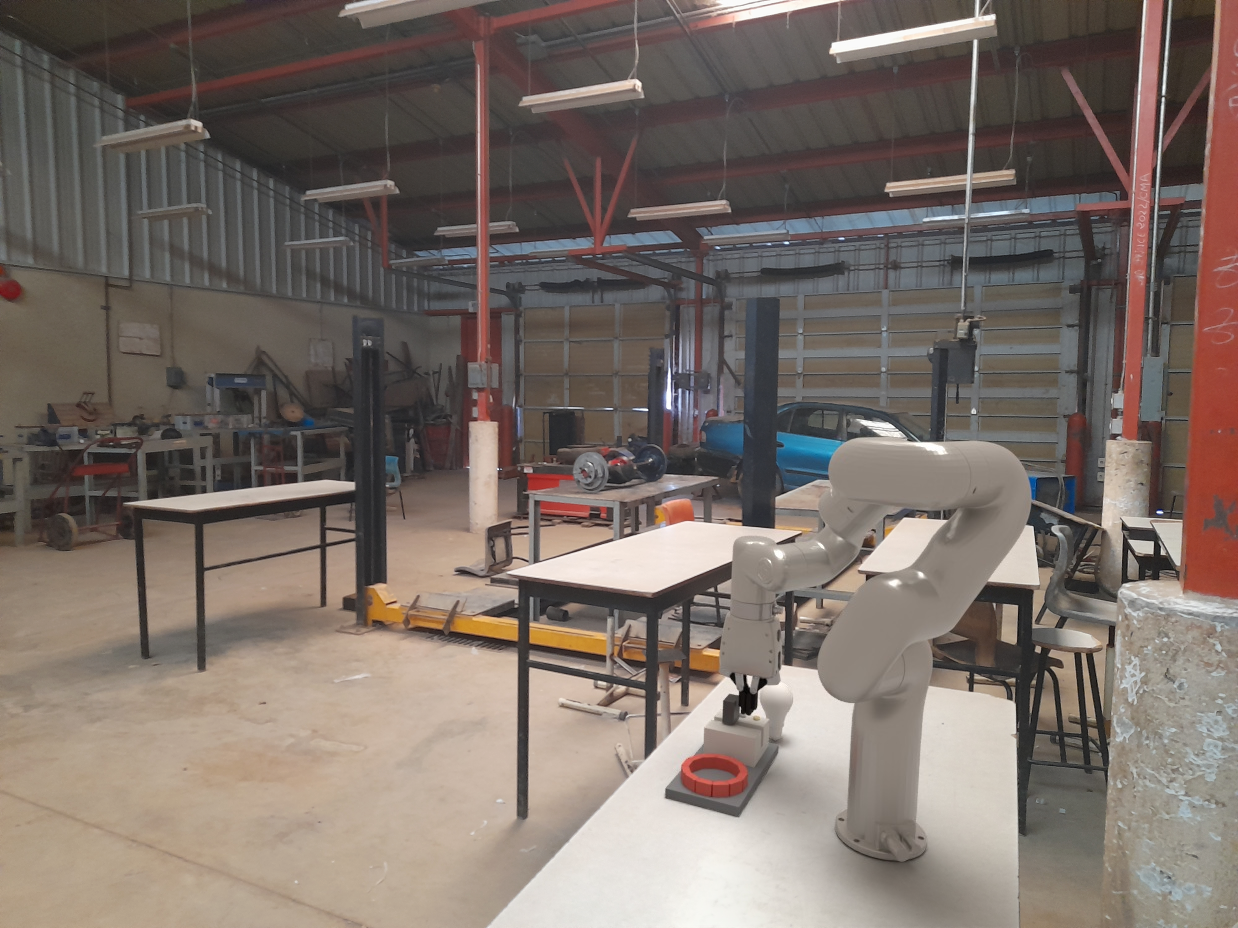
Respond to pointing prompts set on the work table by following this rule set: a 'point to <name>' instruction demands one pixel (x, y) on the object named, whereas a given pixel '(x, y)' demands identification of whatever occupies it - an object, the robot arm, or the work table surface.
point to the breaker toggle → (731, 709)
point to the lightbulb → (776, 706)
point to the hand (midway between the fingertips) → (747, 711)
